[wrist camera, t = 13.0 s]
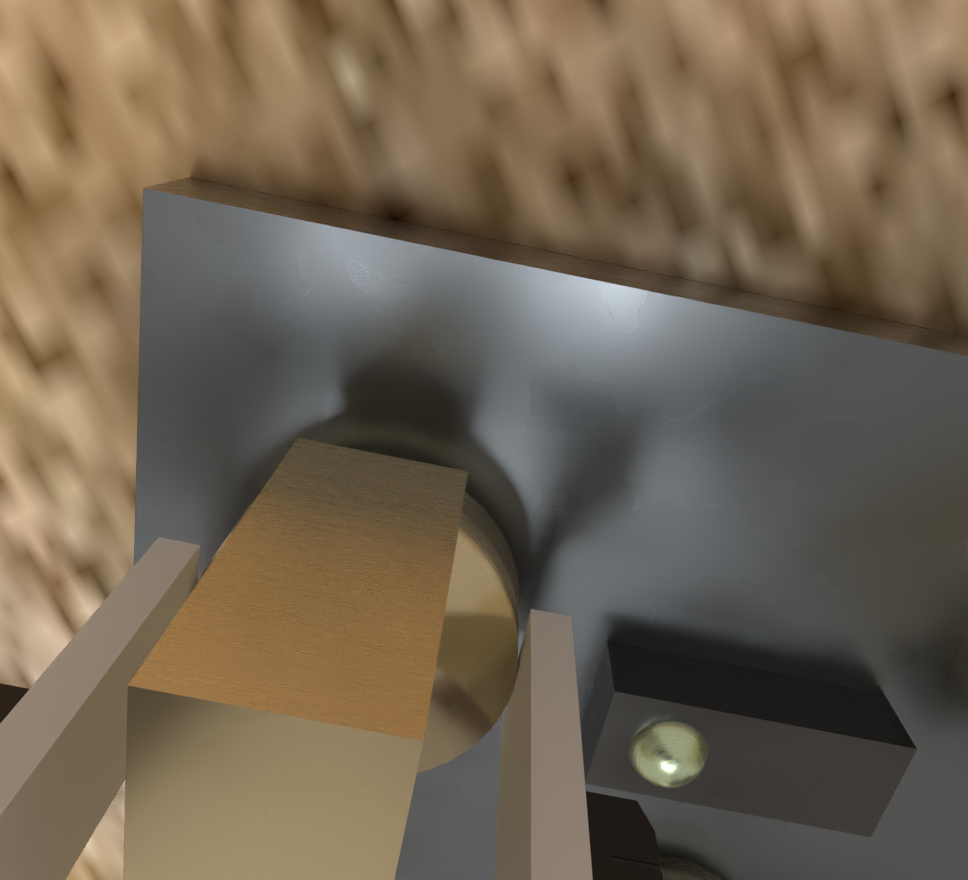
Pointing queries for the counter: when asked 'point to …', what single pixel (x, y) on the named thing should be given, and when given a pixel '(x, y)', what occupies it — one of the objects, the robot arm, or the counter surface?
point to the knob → (320, 674)
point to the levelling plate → (612, 511)
